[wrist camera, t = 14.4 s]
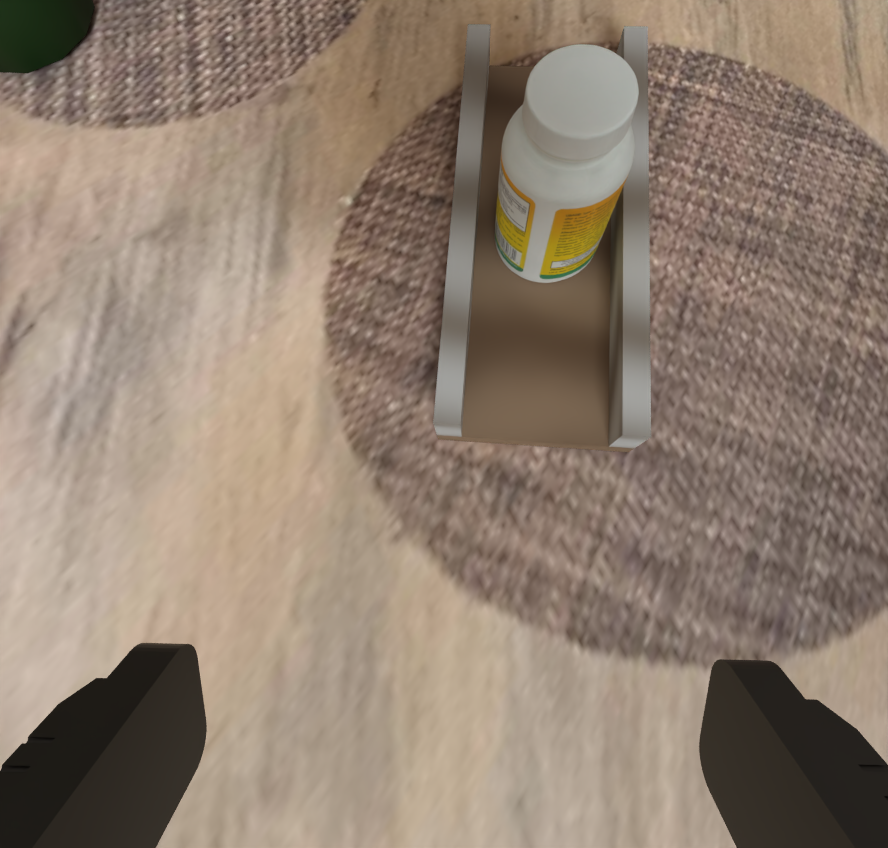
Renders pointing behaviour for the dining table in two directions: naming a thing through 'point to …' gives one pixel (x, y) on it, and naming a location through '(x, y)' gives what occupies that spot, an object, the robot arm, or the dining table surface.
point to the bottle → (40, 31)
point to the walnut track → (542, 294)
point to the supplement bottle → (565, 162)
